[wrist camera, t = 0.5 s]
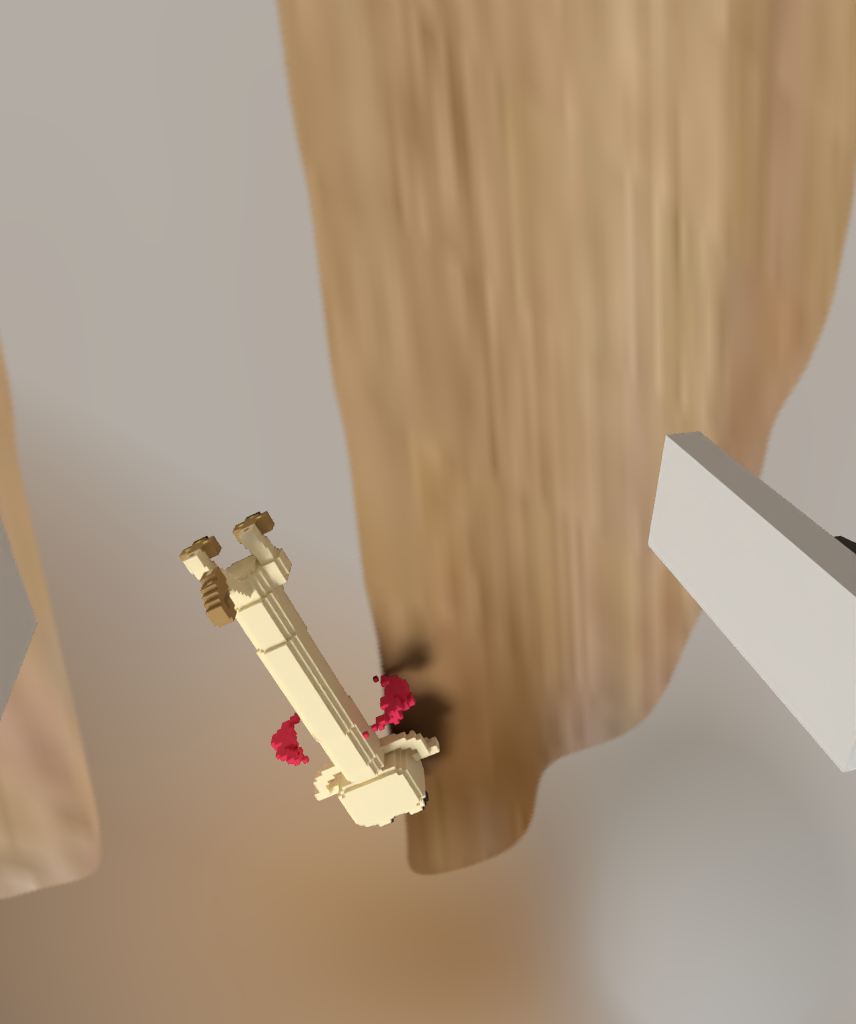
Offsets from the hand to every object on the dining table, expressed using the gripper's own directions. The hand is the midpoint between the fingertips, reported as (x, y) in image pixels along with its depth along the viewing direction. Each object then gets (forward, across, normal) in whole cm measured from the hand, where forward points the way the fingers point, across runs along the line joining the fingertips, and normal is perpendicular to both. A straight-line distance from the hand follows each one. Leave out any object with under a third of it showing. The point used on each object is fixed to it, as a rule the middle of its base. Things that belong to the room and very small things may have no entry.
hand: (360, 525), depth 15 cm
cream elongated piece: (+26, 0, -27) cm, 38 cm away
